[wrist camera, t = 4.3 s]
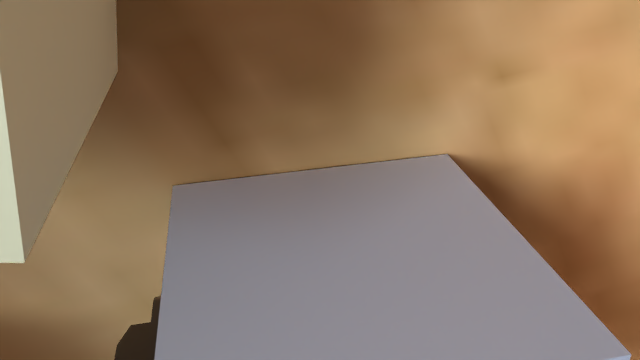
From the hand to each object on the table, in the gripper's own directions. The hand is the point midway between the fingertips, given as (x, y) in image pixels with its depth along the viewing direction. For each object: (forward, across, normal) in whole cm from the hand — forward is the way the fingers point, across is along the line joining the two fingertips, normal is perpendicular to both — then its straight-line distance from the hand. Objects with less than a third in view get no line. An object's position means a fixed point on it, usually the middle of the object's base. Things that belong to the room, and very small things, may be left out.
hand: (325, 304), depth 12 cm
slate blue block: (+1, 0, 0) cm, 1 cm away
